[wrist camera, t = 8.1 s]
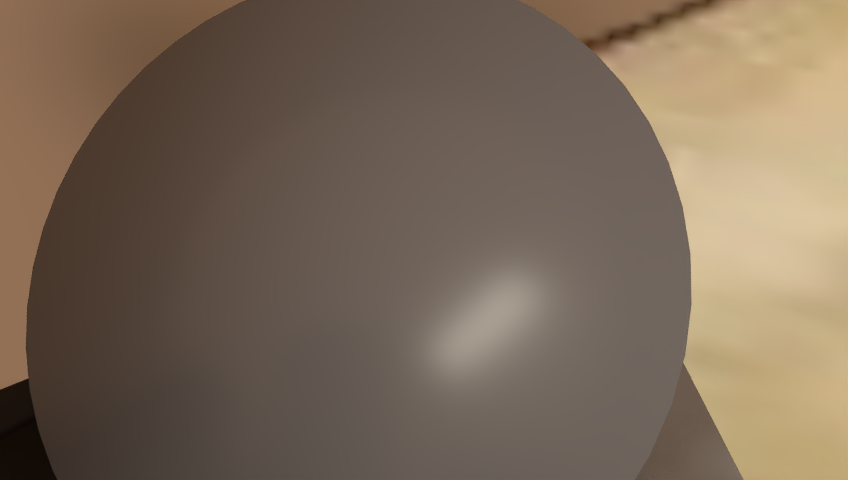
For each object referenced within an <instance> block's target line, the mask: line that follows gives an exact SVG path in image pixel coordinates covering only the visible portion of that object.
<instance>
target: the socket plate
mask: <svg viewBox="0 0 848 480" xmlns="http://www.w3.org/2000/svg"><path fill="white" fill-rule="evenodd" d="M635 480H743V478H742V476H741V474H740V472H739V470H738V468H737V466H736V464H735V463H734V461H733V459H732V457H731V455H730V453H729V451H728V449H727V447H726V445H725V443H724V441H723V439H722V437H721V435H720V433H719V431H718V429H717V428H716V426H715V424H714V422H713V420H712V418H711V416H710V414H709V412H708V410H707V408H706V406H705V404H704V402H703V400H702V398H701V396H700V394H699V393H698V391H697V389H696V387H695V385H694V383H693V381H692V379H691V377H690V375H689V373H688V371H687V369H686V367H685V365H684V363H683V364H682V368H681V372H680V375H679V379H678V383H677V386H676V390H675V394H674V397H673V401H672V405H671V407H670V410H669V412H668V414H667V417H666V419H665V421H664V424H663V426H662V428H661V431H660V433H659V435H658V438H657V440H656V442H655V444H654V447H653V449H652V451H651V454H650V456H649V457H648V459H647V461H646V462H645V464H644V465H643V467H642V469H641V470H640V472H639V474H638V475H637V477H636V478H635Z"/></svg>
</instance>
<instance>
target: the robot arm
mask: <svg viewBox="0 0 848 480" xmlns="http://www.w3.org/2000/svg"><path fill="white" fill-rule="evenodd" d="M0 480H57V478H56V476H55V474H54V472H53V470H52V467H51V464H50V462H49V459H48V456H47V453H46V450H45V447H44V445H43V442H42V439H41V436H40V433H39V430H38V426H37V421H36V417H35V412H34V407H33V403H32V398H31V393H30V388H29V378H28V379H26V380H23V381H21V382H18V383H16V384H13V385H11V386H8V387H6V388H4V389H1V390H0Z"/></svg>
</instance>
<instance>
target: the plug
mask: <svg viewBox="0 0 848 480" xmlns="http://www.w3.org/2000/svg"><path fill="white" fill-rule="evenodd" d="M690 311H691V264H690V249H689V243H688V237H687V231H686V225H685V219H684V213H683V207H682V204H681V200H680V197H679V194H678V191H677V188H676V185H675V181H674V178H673V175H672V172H671V169H670V166H669V162H668V160H667V158H666V156H665V154H664V152H663V150H662V148H661V146H660V144H659V142H658V140H657V138H656V135H655V133H654V131H653V129H652V127H651V125H650V123H649V121H648V120H647V118H646V117H645V115H644V114H643V112H642V111H641V109H640V108H639V106H638V105H637V103H636V102H635V100H634V99H633V97H632V96H631V94H630V93H629V91H628V90H627V88H626V87H625V86H624V85H623V83H622V82H621V81H620V80H619V79H618V78H617V77H616V76H615V74H614V73H613V72H612V71H611V70H610V69H609V68H608V67H607V66H606V64H605V63H604V62H603V61H602V60H601V59H600V58H599V57H598V56H597V54H595V53H594V52H593V51H592V50H591V49H589V48H588V47H587V46H586V45H585V44H583V43H582V42H581V41H580V40H579V39H578V38H576V37H575V36H574V35H573V34H572V33H570V32H569V31H568V30H567V29H566V28H564V27H563V26H561V25H559V24H558V23H556V22H555V21H553V20H552V19H550V18H548V17H547V16H545V15H543V14H542V13H541V12H539V11H537V10H536V9H534V8H533V7H531V6H529V5H526V4H524V3H522V2H520V1H518V0H246V1H243V2H241V3H239V4H237V5H235V6H233V7H231V8H229V9H227V10H225V11H224V12H222V13H220V14H218V15H216V16H214V17H212V18H211V19H209V20H207V21H205V22H204V23H202V24H201V25H199V26H198V27H197V28H195V29H193V30H192V31H191V32H189V33H188V34H186V35H185V36H183V37H182V38H180V39H179V40H177V41H176V42H175V43H173V44H172V45H171V46H170V47H169V48H167V49H166V50H165V51H164V52H163V53H161V54H160V55H159V56H158V57H157V58H156V59H154V60H153V61H152V62H151V63H149V64H148V65H147V66H146V67H145V68H144V69H143V70H142V71H141V72H140V73H139V74H138V75H137V76H136V77H135V78H134V79H133V80H132V81H131V83H130V84H128V86H127V87H126V88H125V89H124V90H123V91H122V92H121V93H120V94H119V95H118V96H117V98H116V99H115V100H114V101H113V103H112V104H111V105H110V106H109V108H108V109H107V110H106V111H105V113H104V114H103V115H102V116H101V118H100V119H99V120H98V121H97V123H96V124H95V126H94V127H93V129H92V130H91V132H90V133H89V135H88V137H87V138H86V140H85V141H84V143H83V144H82V146H81V148H80V149H79V151H78V152H77V154H76V155H75V157H74V159H73V161H72V163H71V165H70V167H69V169H68V171H67V173H66V175H65V177H64V179H63V181H62V183H61V185H60V187H59V189H58V191H57V193H56V196H55V199H54V202H53V204H52V206H51V209H50V212H49V215H48V217H47V220H46V223H45V225H44V228H43V232H42V235H41V239H40V243H39V246H38V250H37V254H36V258H35V262H34V266H33V271H32V278H31V285H30V293H29V299H28V305H27V333H26V353H27V365H28V376H29V388H30V393H31V398H32V403H33V407H34V412H35V417H36V421H37V426H38V430H39V433H40V436H41V439H42V442H43V445H44V447H45V450H46V453H47V456H48V459H49V462H50V464H51V467H52V470H53V472H54V474H55V476H56V478H57V480H635V478H636V477H637V475H638V474H639V472H640V470H641V469H642V467H643V465H644V464H645V462H646V461H647V459H648V457H649V456H650V454H651V451H652V449H653V447H654V444H655V442H656V440H657V438H658V435H659V433H660V431H661V428H662V426H663V424H664V421H665V419H666V417H667V414H668V412H669V410H670V407H671V405H672V401H673V397H674V394H675V390H676V386H677V383H678V379H679V375H680V372H681V368H682V364H683V360H684V357H685V351H686V343H687V335H688V327H689V319H690Z"/></svg>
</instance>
